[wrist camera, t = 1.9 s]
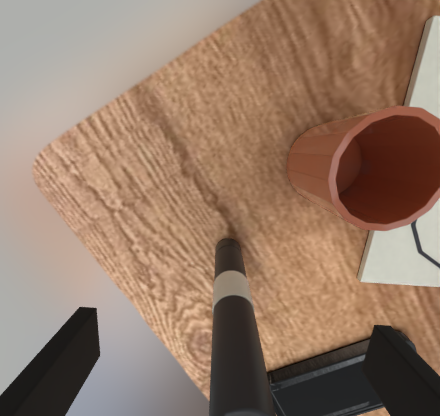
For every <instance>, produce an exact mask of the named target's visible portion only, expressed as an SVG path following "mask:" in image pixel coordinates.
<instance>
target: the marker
mask: <svg viewBox="0 0 440 416" xmlns="http://www.w3.org/2000/svg"><path fill="white" fill-rule="evenodd" d="M212 314H213V329H212V355H211V380H210V406H209V408H210V409H209V416H276V414H275V409H274V405H273V400H272V395H271V390H270V386H269V381H268V376H267V371H266V367H265V362H264V357H263V352H262V348H261V343H260V338H259V333H258V329H257V324H256V319H255V315H254V305H253V301H252V296H251V292H250V287H249V283H248V280H247V277H246V272H245V267H244V262H243V258H242V253H241V248H240V245H239V244H238V242H237V241H235V240H233V239H223V240H221V241H220V242H219V243H218V244H217V246H216V253H215V278H214V285H213V306H212Z"/></svg>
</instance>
